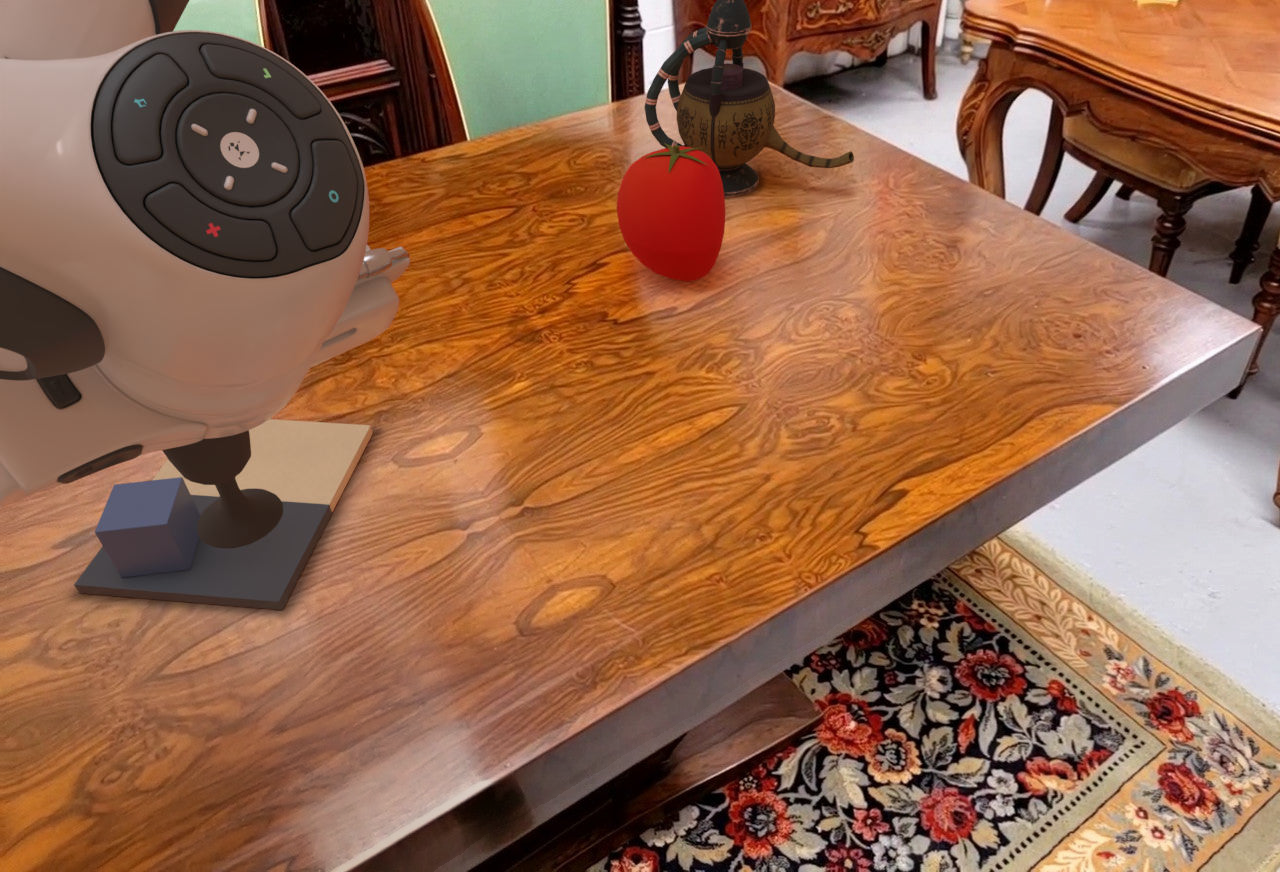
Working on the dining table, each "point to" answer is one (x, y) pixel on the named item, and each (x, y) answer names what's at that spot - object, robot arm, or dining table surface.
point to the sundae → (227, 491)
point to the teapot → (725, 104)
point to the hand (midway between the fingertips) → (189, 405)
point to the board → (269, 568)
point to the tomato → (673, 212)
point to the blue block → (149, 527)
